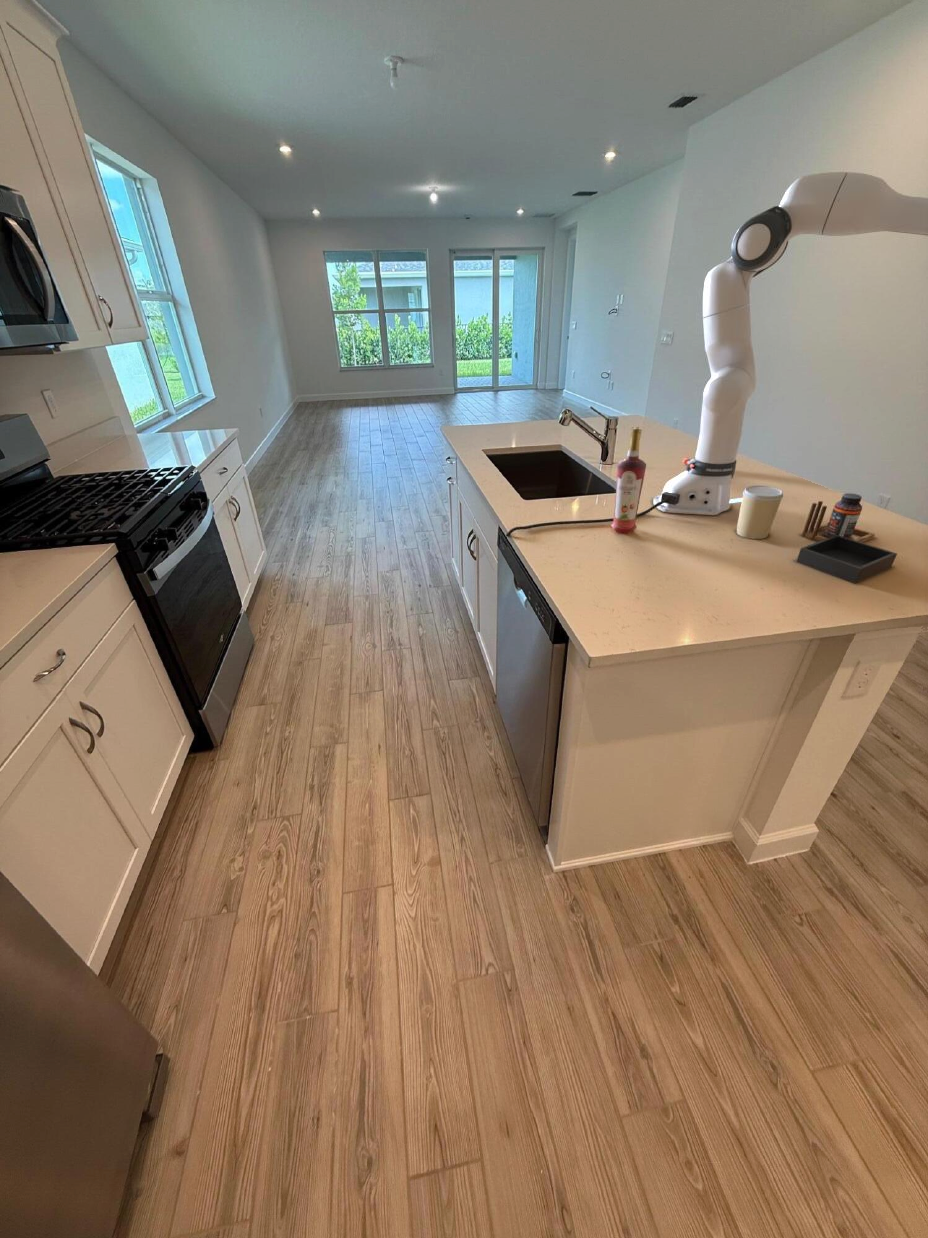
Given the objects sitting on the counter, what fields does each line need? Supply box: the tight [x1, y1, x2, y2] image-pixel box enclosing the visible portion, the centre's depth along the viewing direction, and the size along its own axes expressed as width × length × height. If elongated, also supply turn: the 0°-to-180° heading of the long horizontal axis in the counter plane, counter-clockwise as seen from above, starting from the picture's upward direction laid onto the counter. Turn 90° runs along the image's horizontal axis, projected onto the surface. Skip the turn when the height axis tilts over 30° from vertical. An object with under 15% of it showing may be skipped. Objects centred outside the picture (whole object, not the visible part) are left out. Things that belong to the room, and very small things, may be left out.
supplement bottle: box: [824, 492, 863, 539], centre depth 131 cm, size 6×6×11 cm
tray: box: [795, 535, 898, 584], centre depth 120 cm, size 15×14×4 cm
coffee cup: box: [736, 485, 784, 540], centre depth 135 cm, size 9×9×12 cm
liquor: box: [611, 426, 647, 535], centre depth 137 cm, size 7×7×28 cm
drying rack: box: [801, 500, 875, 543], centre depth 132 cm, size 13×11×9 cm
